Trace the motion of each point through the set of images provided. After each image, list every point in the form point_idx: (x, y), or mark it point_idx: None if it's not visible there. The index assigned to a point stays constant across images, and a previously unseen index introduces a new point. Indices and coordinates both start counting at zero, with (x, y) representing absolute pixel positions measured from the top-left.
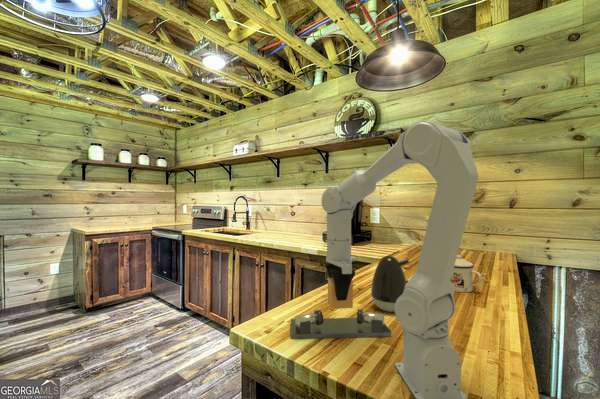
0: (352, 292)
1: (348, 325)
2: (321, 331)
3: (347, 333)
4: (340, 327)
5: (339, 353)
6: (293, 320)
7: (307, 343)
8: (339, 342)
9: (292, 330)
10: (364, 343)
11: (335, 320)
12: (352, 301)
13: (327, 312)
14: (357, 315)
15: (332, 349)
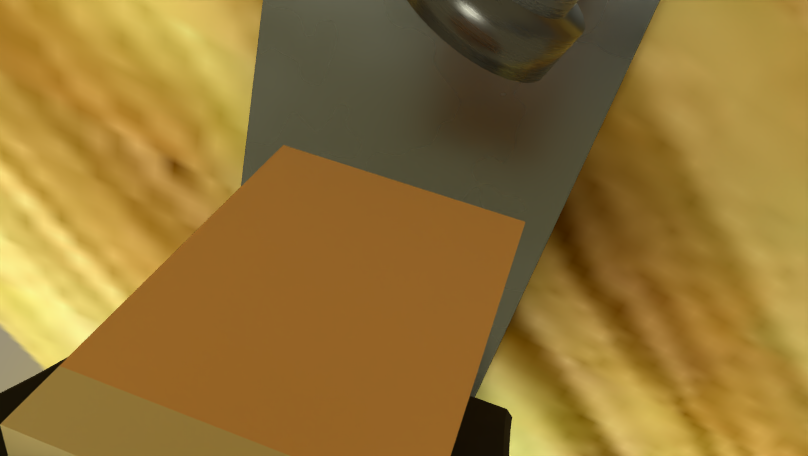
0: (468, 390)
1: (438, 61)
2: None
3: (585, 159)
4: (451, 156)
5: (784, 330)
6: None
7: (536, 417)
8: (630, 242)
9: None
10: (775, 53)
11: (300, 119)
12: (504, 281)
13: (63, 40)
14: (529, 77)
15: (700, 339)
